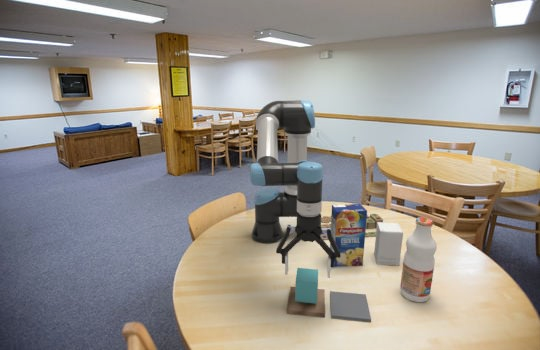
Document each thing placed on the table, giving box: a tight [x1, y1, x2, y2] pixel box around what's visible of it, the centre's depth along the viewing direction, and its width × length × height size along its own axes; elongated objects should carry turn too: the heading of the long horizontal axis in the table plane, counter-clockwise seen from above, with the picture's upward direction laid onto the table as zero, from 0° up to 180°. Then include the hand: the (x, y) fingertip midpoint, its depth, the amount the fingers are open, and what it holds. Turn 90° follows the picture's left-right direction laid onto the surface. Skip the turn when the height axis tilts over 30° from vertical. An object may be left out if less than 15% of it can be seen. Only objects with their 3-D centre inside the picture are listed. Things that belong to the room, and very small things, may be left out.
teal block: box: [294, 267, 319, 304], centre depth 101 cm, size 7×7×8 cm
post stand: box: [286, 286, 326, 318], centre depth 101 cm, size 12×12×10 cm
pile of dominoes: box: [320, 213, 384, 241], centre depth 159 cm, size 35×27×6 cm
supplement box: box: [374, 221, 404, 267], centre depth 126 cm, size 9×9×15 cm
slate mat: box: [329, 290, 372, 323], centre depth 101 cm, size 12×12×1 cm
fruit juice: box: [399, 217, 437, 303], centre depth 103 cm, size 9×9×28 cm
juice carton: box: [329, 203, 368, 268], centre depth 124 cm, size 12×8×24 cm, turn 94°
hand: (307, 273), depth 99 cm, fingers open, 13 cm apart
